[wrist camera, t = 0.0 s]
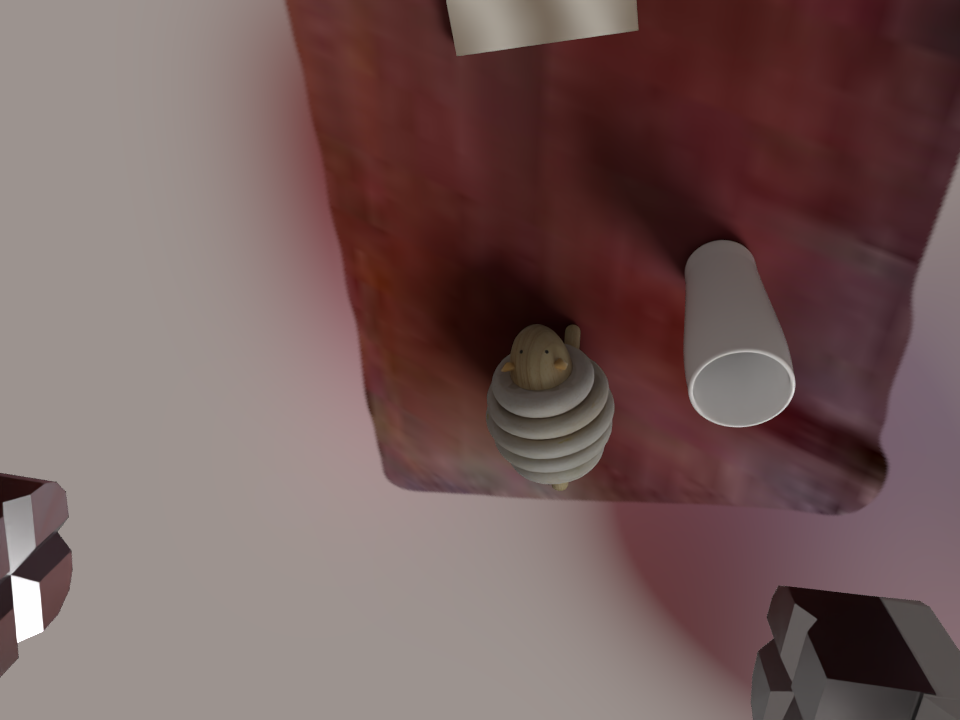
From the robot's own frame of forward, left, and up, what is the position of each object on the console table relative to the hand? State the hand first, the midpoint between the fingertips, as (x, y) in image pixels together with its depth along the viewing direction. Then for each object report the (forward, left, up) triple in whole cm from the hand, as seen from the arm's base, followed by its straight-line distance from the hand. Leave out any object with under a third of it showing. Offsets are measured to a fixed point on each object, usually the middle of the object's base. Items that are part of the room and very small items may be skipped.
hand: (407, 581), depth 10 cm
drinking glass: (+10, +28, -52) cm, 60 cm away
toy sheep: (+27, +27, -52) cm, 65 cm away
